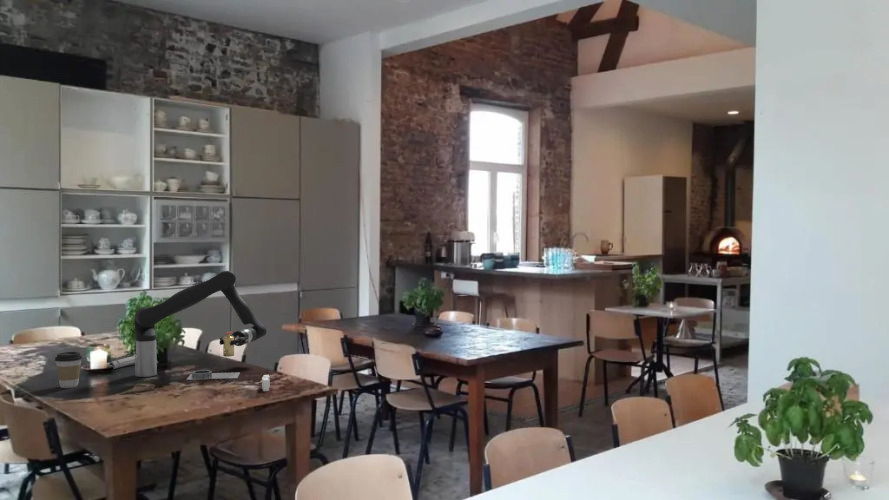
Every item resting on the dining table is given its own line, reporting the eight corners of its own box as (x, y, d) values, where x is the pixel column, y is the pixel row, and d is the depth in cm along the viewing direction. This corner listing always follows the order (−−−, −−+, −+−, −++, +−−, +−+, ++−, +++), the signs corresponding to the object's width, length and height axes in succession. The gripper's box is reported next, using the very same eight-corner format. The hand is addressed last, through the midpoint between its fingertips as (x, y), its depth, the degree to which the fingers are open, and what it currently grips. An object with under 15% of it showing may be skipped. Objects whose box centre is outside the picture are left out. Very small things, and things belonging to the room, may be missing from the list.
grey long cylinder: (107, 361, 370) (151, 347, 391) (109, 373, 371) (152, 359, 392) (113, 362, 367) (156, 348, 388) (115, 375, 368) (158, 360, 389)
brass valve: (222, 356, 345) (222, 333, 345) (223, 354, 350) (223, 331, 350) (233, 356, 346) (233, 332, 346) (234, 354, 351) (234, 331, 350)
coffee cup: (88, 384, 333) (88, 352, 333) (68, 390, 323) (68, 356, 322) (69, 382, 337) (69, 350, 336) (48, 387, 326) (48, 354, 326)
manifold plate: (186, 382, 339) (186, 375, 339) (191, 376, 352) (191, 369, 351) (237, 381, 343) (237, 373, 343) (240, 375, 356) (240, 368, 355)
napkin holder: (269, 393, 320) (269, 380, 320) (247, 391, 324) (246, 378, 324) (286, 386, 335) (286, 374, 334) (265, 384, 338) (265, 372, 338)
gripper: (228, 329, 363) (212, 334, 346) (255, 330, 360) (240, 335, 344) (228, 344, 363) (212, 350, 346) (255, 345, 361) (240, 351, 344)
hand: (226, 342), depth 345 cm, fingers closed on brass valve, 5 cm apart
